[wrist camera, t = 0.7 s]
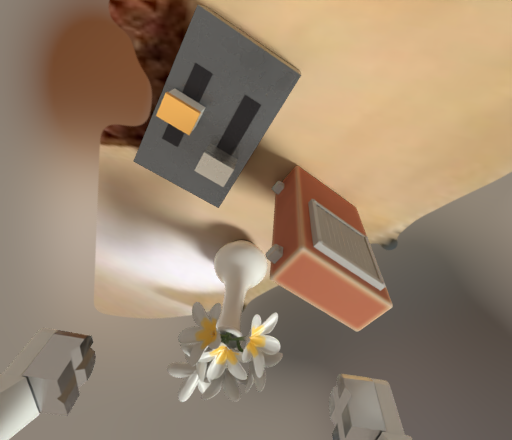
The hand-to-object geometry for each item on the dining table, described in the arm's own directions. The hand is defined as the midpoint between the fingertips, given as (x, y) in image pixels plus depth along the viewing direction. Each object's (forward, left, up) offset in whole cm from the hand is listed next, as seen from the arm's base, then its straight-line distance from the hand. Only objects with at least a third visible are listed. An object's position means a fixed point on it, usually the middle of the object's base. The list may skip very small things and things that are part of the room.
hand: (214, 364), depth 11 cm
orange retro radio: (+8, +14, -41) cm, 44 cm away
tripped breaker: (+5, -9, -36) cm, 38 cm away
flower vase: (+25, +10, -41) cm, 49 cm away
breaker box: (+5, -6, -40) cm, 41 cm away
